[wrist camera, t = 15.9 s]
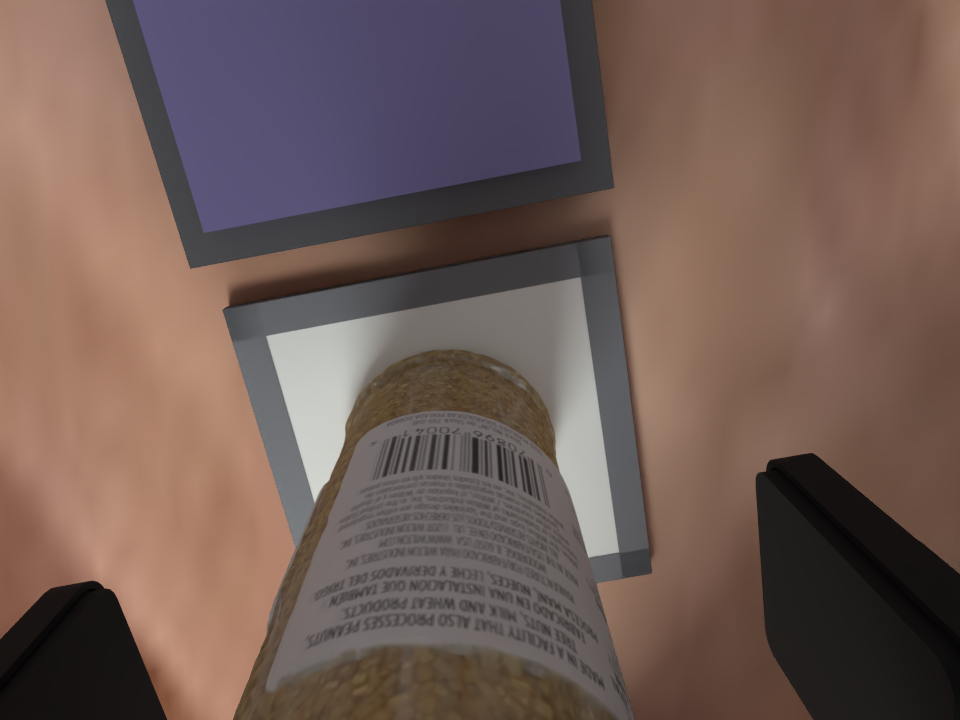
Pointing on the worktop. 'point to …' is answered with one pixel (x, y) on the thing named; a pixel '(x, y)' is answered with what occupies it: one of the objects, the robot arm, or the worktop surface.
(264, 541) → the worktop surface
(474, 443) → the sprinkles bottle
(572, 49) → the ink pad
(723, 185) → the worktop surface
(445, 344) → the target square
